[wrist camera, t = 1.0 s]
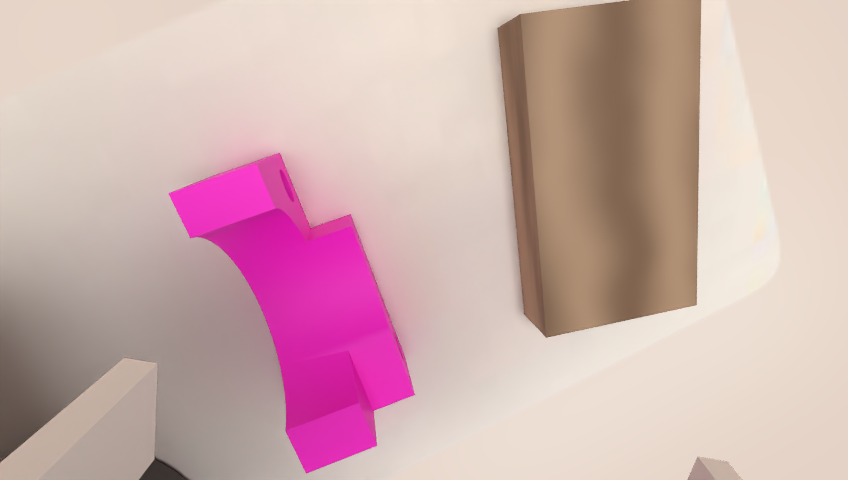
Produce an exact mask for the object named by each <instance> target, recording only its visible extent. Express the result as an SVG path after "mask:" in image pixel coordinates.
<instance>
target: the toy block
mask: <svg viewBox="0 0 848 480" xmlns="http://www.w3.org/2000/svg"><path fill="white" fill-rule="evenodd" d="M169 195H170V197H171V200H172V202H173V204H174V206H175V208H176V210H177V212H178V214H179V216H180V218H181V220H182V222H183V224H184V226H185V228H186V230H187V232H188V234H189V236H190V238H194V237H201V238H205V239H207V240H210V241H212V242H213V243H215V244H216V245H218V246H219V247H220V248H221V249H222V250H223V251H224V252H225V253H226V254H227V255H228V256H229V257H230V258H231V259H232V260H233V261H234V263H235V264H236V265H237V267H238V268H239V269H240V271H241V272H242V274H243V275H244V277H245V278H246V280H247V282H248V283H249V285H250V287H251V289H252V291H253V292H254V294H255V296H256V298H257V300H258V302H259V305H260V307H261V309H262V311H263V314H264V316H265V318H266V321H267V324H268V326H269V329H270V332H271V335H272V338H273V341H274V344H275V348H276V351H277V355H278V359H279V363H280V367H281V372H282V377H283V383H284V390H285V400H286V433H287V435H288V437H289V439H290V441H291V443H292V445H293V447H294V449H295V451H296V453H297V455H298V458H299V460H300V462H301V464H302V466H303V468H304V470H305V472H306V473H309V472H311V471H314V470H316V469H319V468H321V467H324V466H326V465H329V464H332V463H334V462H337V461H339V460H342V459H344V458H347V457H349V456H352V455H354V454H357V453H359V452H362V451H365V450H367V449H370V448H372V447H375V446H377V442H376V432H375V421H374V410H377V409H379V408H382V407H384V406H387V405H390V404H392V403H395V402H397V401H400V400H402V399H405V398H408V397H410V396H413V395H415V394H414V390H413V386H412V383H411V379H410V375H409V371H408V367H407V363H406V359H405V356H404V354H403V351H402V349H401V346H400V343H399V341H398V338H397V335H396V333H395V330H394V328H393V325H392V322H391V320H390V317H389V314H388V312H387V309H386V307H385V304H384V301H383V299H382V296H381V293H380V291H379V288H378V285H377V283H376V280H375V278H374V275H373V272H372V270H371V267H370V264H369V262H368V259H367V257H366V254H365V251H364V249H363V246H362V243H361V241H360V238H359V236H358V233H357V230H356V228H355V225H354V222H353V220H352V217H351V215H347V216H344V217H341V218H339V219H336V220H333V221H330V222H327V223H324V224H322V225H319V226H316V227H313V228H310V226H309V223H308V221H307V219H306V216H305V214H304V211H303V209H302V206H301V204H300V202H299V199H298V197H297V194H296V192H295V189H294V187H293V184H292V182H291V180H290V177H289V175H288V172H287V170H286V167H285V165H284V163H283V160H282V158H281V155H280V153H278V154H275V155H272V156H269V157H267V158H264V159H261V160H258V161H255V162H252V163H249V164H246V165H243V166H240V167H237V168H234V169H231V170H228V171H225V172H222V173H219V174H217V175H214V176H211V177H209V178H206V179H204V180H201V181H199V182H196V183H194V184H191V185H189V186H186V187H184V188H181V189H179V190H176V191H174V192H171V193H169Z"/></svg>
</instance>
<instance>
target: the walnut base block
mask: <svg viewBox="0 0 848 480" xmlns="http://www.w3.org/2000/svg"><path fill="white" fill-rule="evenodd" d="M700 35H701V0H629V1H622V2H614V3H606V4H598V5H590V6H582V7H574V8H566V9H558V10H550V11H542V12H534V13H526V14H520V15H518V16H517V17H515V18H513V19H512V20H510V21H509V22H507V23H505V24H504V25H502V26H500V27H499V28H498V36H499V47H500V57H501V68H502V79H503V90H504V100H505V111H506V122H507V132H508V143H509V154H510V165H511V175H512V186H513V197H514V208H515V218H516V229H517V240H518V251H519V261H520V272H521V283H522V294H523V304H524V314H525V315H526V316H527V318H528V319H529V320H530V321H531V322H532V323H533V324H534V325H535V326H536V327H537V328H538V329H539V330H540V331H541V332H542V333H543V335H544V336H545V337H546V338H547V337H551V336H556V335H561V334H565V333H570V332H574V331H579V330H584V329H588V328H593V327H598V326H602V325H607V324H611V323H616V322H621V321H625V320H630V319H634V318H639V317H644V316H648V315H653V314H658V313H662V312H667V311H671V310H676V309H681V308H685V307H690V306H695V305H697V239H698V171H699V103H700Z"/></svg>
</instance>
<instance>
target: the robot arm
mask: <svg viewBox="0 0 848 480" xmlns="http://www.w3.org/2000/svg"><path fill="white" fill-rule="evenodd" d="M157 373H158V363H153V362H147V361H141V360H136V359H130V358H123V359H122V360H121V361H120V362H119V363H117V364H116V365H115V366H114V367H113V368H112V369H110V370H109V371H108V372H107V373H106V374H104V375H103V376H102V377H101V378H100V379H99V380H97V381H96V382H95V383H94V384H93V385H91V386H90V387H89V388H88V389H87V390H86V391H84V392H83V393H82V394H81V395H80V396H78V397H77V398H76V399H75V400H74V401H73V402H71V403H70V404H69V405H68V406H67V407H65V408H64V409H63V410H62V411H61V412H60V413H58V414H57V415H56V416H55V417H54V418H52V419H51V420H50V421H49V422H48V423H47V424H45V425H44V426H43V427H42V428H41V429H39V430H38V431H37V432H36V433H35V434H34V435H32V436H31V437H30V438H29V439H28V440H26V441H25V442H24V443H23V444H22V445H21V446H19V447H18V448H17V449H16V450H15V451H13V452H12V453H11V454H10V455H9V456H8V457H6V458H5V459H4V460H3V461H2V462H0V480H186V479H185V478H183V477H182V476H181V475H180V474H178V473H177V472H176V471H174V470H173V469H171V468H169V467H168V466H166V465H164V464H163V463H161V462H159V461H157V460H154V459H155V431H156V402H157ZM688 480H742V479H741V477H740V476H739V475H738V474H737V473H736V471H735V470H734V469H733V468H732V466H731V465H730V464H729V463H728V462H726V461H721V460H715V459H708V458H703V457H697V459H696V462H695V464H694V466H693V468H692V471H691V473H690V475H689V477H688Z"/></svg>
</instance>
